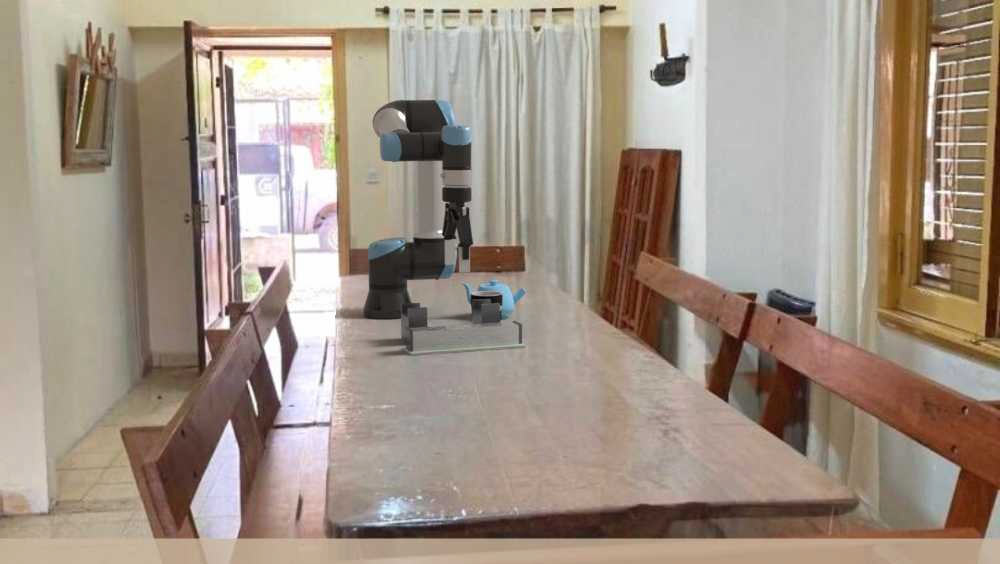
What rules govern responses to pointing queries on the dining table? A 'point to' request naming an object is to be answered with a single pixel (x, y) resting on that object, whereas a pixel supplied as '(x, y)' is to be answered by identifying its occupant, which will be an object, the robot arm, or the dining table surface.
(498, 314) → the post
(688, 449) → the dining table surface
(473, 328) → the rail
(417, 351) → the mat
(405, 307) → the post
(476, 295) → the mug
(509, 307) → the teapot
